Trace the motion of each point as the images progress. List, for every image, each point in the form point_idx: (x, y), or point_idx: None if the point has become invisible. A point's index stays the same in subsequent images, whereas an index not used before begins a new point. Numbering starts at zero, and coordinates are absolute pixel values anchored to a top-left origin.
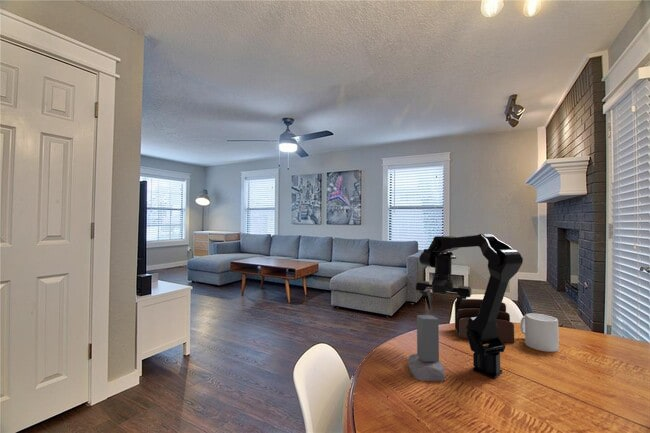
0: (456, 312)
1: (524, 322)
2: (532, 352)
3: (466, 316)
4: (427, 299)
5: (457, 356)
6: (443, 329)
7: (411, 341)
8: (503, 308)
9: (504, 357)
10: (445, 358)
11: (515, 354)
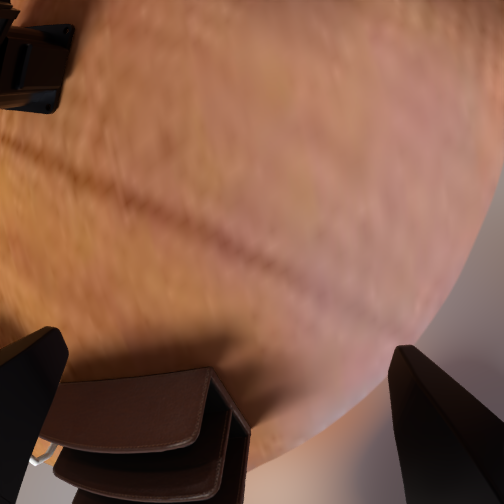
0: (30, 334)
1: (46, 452)
2: (7, 332)
3: (180, 469)
4: (500, 460)
5: (154, 128)
6: (295, 414)
7: (428, 196)
8: (79, 498)
9: (24, 249)
10: (202, 60)
11: (18, 295)
